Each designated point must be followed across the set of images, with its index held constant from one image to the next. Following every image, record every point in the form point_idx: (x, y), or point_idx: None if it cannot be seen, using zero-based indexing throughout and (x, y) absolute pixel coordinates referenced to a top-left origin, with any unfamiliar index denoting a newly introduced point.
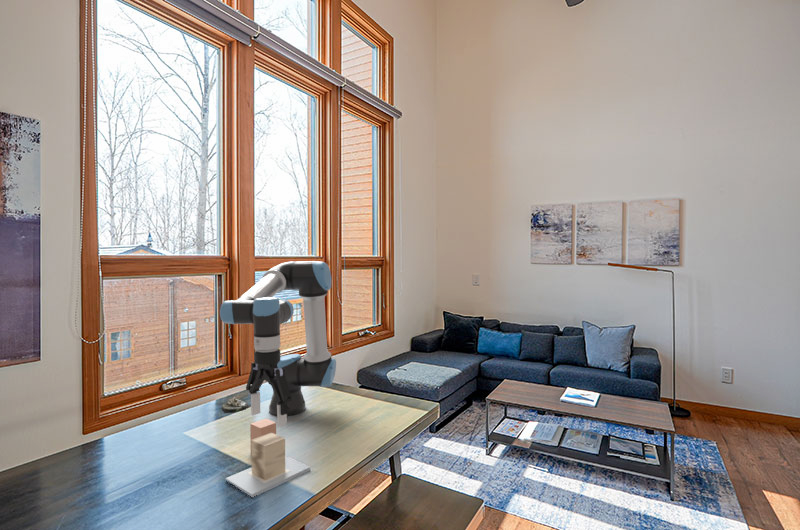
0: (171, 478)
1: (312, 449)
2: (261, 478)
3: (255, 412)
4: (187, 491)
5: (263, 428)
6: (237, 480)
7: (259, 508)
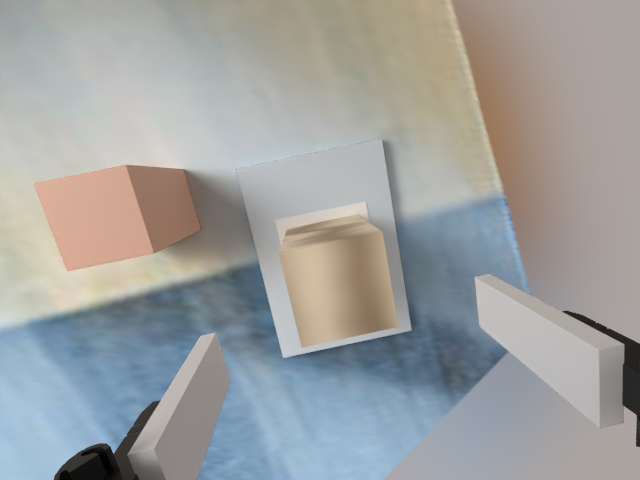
0: None
1: (243, 52)
2: None
3: (221, 371)
4: (274, 431)
5: (152, 236)
6: None
7: (462, 326)
